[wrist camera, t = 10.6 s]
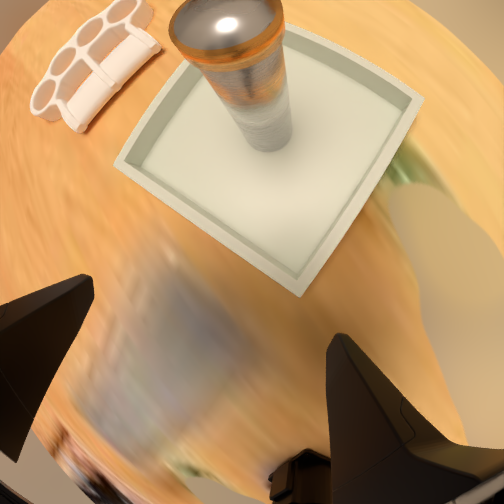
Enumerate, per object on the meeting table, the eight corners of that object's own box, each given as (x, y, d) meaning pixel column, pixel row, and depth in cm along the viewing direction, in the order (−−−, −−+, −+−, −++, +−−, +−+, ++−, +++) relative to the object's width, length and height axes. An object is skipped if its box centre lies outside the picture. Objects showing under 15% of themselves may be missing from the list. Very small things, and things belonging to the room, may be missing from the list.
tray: (411, 112, 18) (425, 98, 15) (300, 288, 21) (299, 298, 18) (241, 25, 20) (234, 6, 17) (132, 171, 22) (112, 165, 19)
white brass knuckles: (71, 160, 24) (39, 98, 25) (192, 32, 21) (131, -2, 22) (49, 154, 21) (22, 91, 21) (180, 13, 17) (119, -15, 18)
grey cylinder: (304, 141, 19) (304, 25, 6) (254, 163, 20) (187, 74, 7) (280, 99, 19) (252, -29, 6) (233, 119, 20) (157, 12, 7)
